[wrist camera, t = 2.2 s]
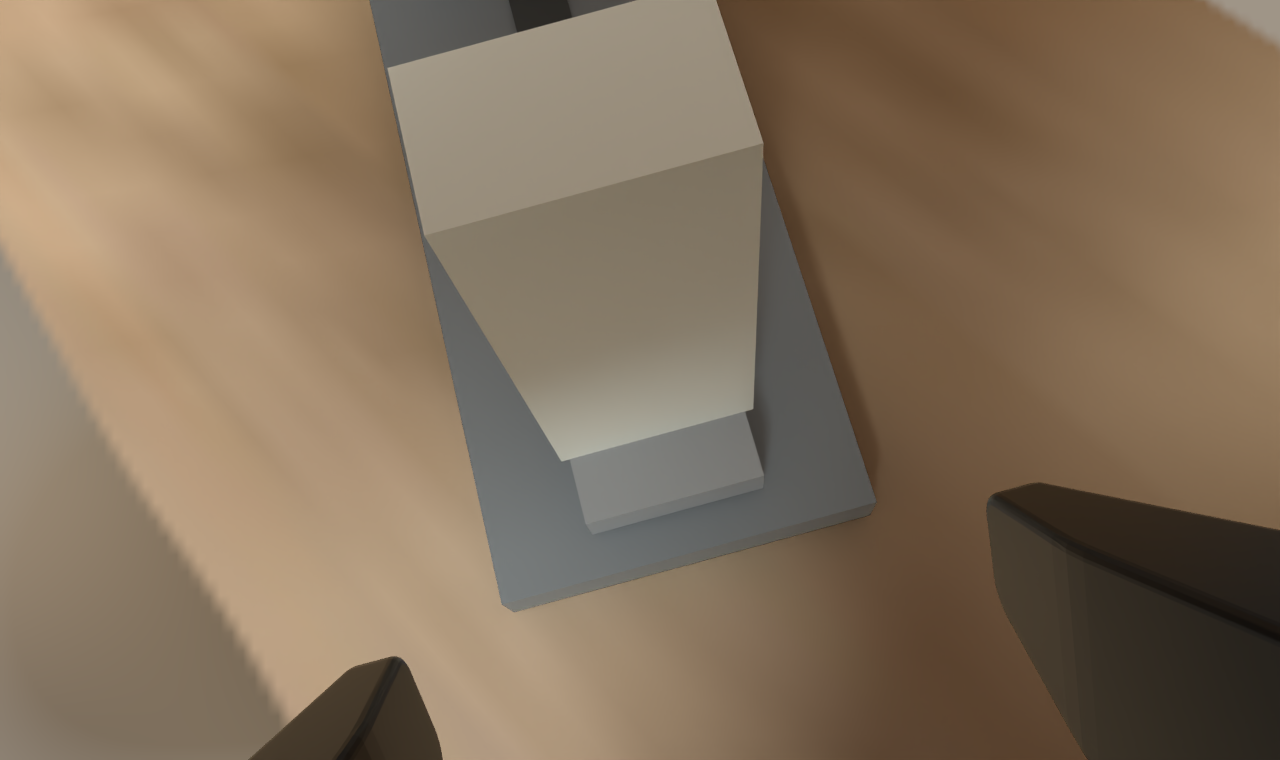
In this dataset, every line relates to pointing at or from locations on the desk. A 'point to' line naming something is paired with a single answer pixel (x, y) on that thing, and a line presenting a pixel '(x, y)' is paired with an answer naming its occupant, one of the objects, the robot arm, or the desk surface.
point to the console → (543, 485)
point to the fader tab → (605, 240)
